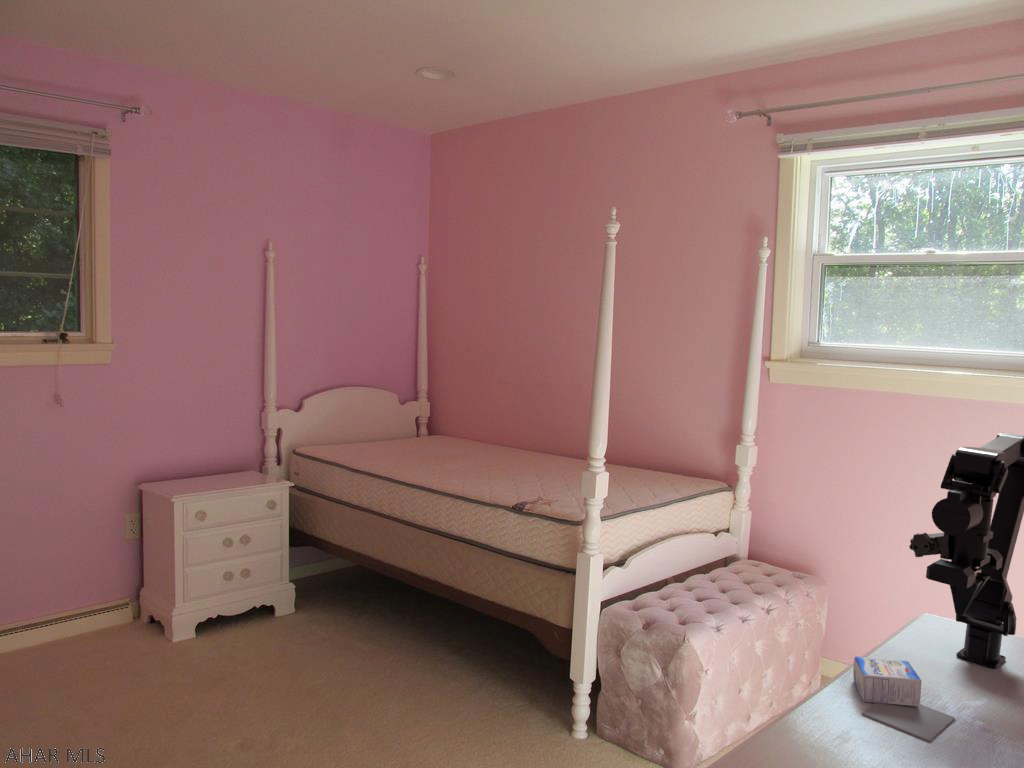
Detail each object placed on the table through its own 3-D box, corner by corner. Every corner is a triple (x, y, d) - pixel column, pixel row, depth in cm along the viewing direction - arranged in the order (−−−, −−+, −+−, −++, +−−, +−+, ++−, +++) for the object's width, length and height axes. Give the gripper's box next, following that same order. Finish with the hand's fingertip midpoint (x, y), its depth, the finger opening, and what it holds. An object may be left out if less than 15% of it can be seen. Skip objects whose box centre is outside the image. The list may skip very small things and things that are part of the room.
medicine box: (922, 680, 130) (863, 674, 132) (920, 707, 130) (861, 701, 132) (909, 660, 137) (853, 655, 139) (907, 686, 138) (852, 681, 140)
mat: (889, 694, 135) (889, 692, 135) (954, 719, 128) (955, 717, 128) (861, 714, 128) (861, 712, 128) (929, 742, 121) (929, 740, 121)
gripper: (939, 505, 150) (930, 588, 152) (898, 521, 137) (888, 612, 139) (1008, 520, 142) (997, 607, 144) (971, 538, 129) (960, 634, 131)
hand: (959, 614), depth 140 cm, fingers closed
